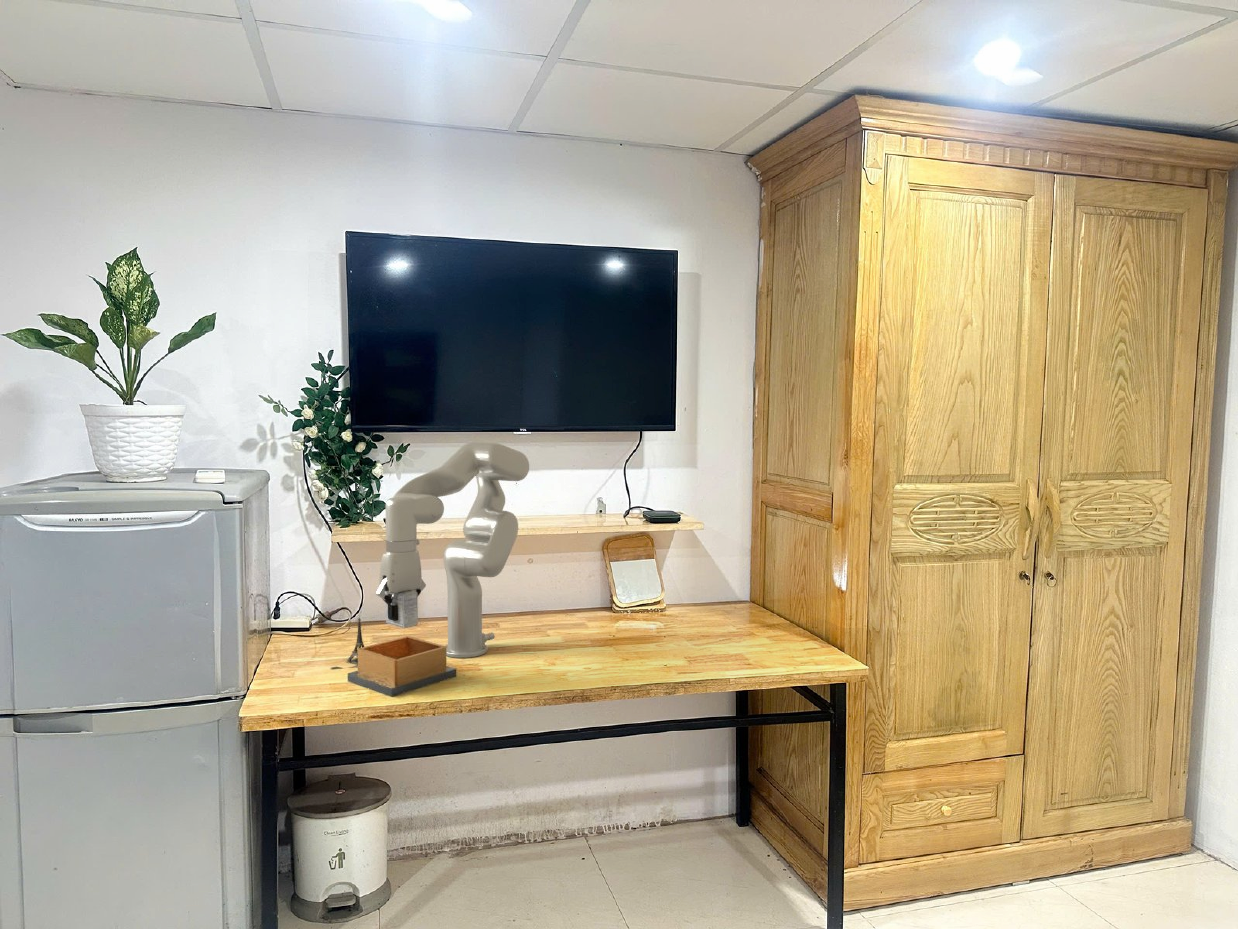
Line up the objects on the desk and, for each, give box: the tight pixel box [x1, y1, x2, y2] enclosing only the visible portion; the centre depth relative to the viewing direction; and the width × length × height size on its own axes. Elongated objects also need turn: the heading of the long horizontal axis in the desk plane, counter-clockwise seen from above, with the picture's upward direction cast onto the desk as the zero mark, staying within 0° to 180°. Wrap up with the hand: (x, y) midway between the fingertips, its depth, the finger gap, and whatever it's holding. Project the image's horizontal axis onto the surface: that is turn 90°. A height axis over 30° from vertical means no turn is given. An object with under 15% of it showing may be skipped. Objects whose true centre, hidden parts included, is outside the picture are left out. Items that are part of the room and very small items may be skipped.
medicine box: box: [385, 590, 419, 629], centre depth 217 cm, size 8×4×9 cm, turn 48°
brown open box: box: [347, 635, 457, 698], centre depth 218 cm, size 20×18×8 cm
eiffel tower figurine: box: [330, 617, 365, 670], centre depth 232 cm, size 15×10×13 cm
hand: (401, 617), depth 217 cm, fingers closed on medicine box, 4 cm apart
